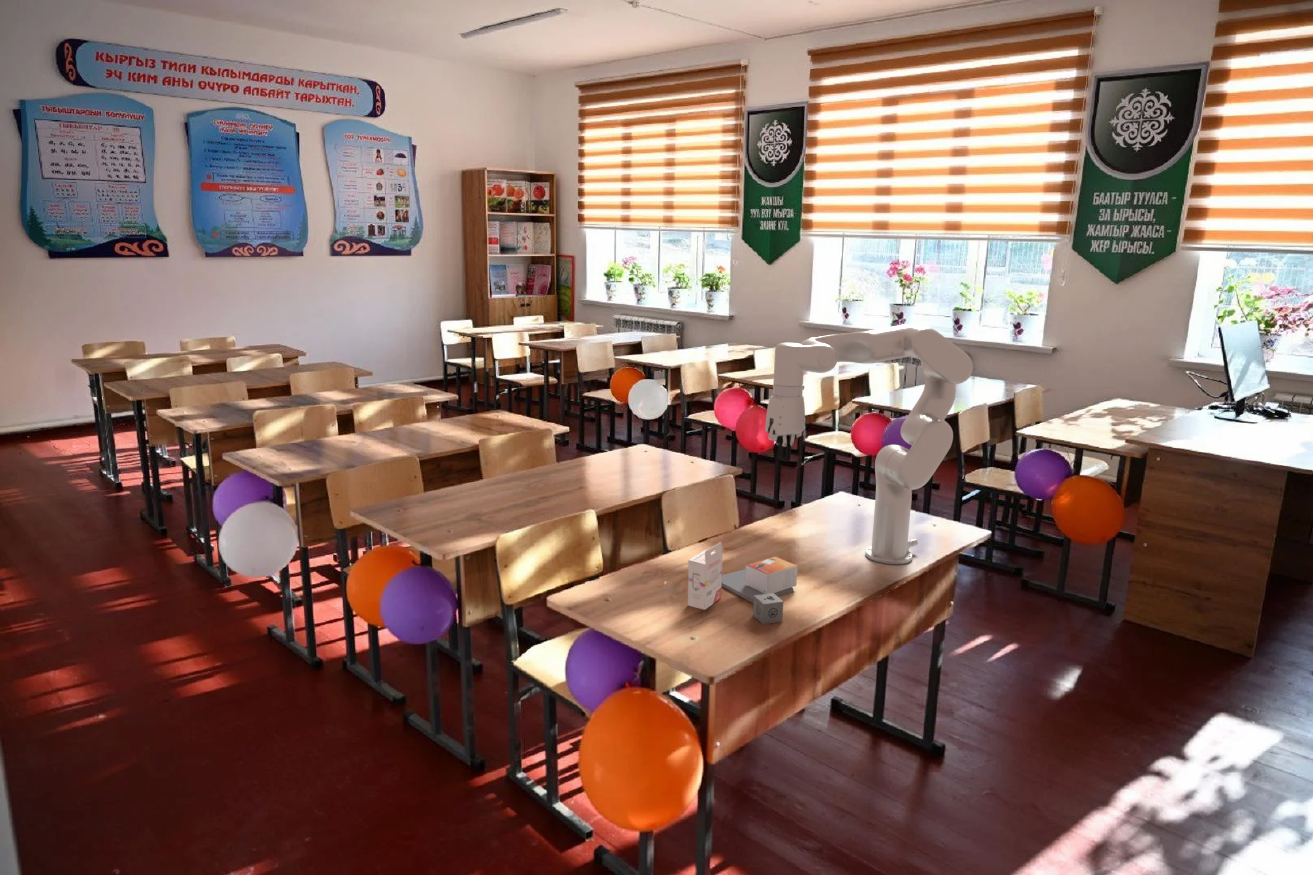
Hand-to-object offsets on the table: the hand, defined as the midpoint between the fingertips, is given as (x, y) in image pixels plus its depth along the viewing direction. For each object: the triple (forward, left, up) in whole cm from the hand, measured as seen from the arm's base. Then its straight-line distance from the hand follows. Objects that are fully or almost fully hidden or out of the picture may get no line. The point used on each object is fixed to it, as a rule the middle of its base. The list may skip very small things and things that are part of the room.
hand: (784, 459), depth 226 cm
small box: (+8, +12, -25) cm, 29 cm away
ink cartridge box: (+32, +9, -29) cm, 44 cm away
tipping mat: (+16, +8, -29) cm, 34 cm away
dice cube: (+25, +24, -29) cm, 45 cm away
